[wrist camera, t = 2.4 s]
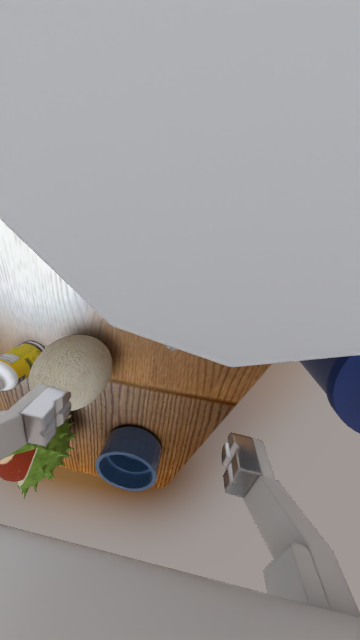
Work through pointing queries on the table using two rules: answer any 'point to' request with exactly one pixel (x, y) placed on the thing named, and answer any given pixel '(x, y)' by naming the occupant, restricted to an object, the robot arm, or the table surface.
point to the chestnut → (37, 459)
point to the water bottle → (191, 167)
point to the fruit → (74, 368)
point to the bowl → (129, 459)
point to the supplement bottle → (18, 364)
